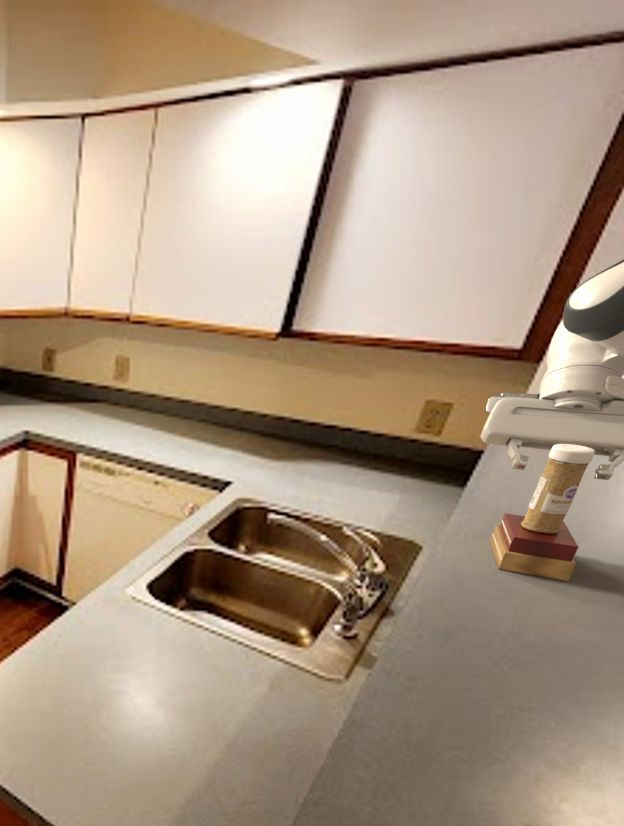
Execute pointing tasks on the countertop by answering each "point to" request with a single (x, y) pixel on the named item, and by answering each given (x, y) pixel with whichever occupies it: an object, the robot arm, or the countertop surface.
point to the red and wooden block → (533, 549)
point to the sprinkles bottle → (557, 487)
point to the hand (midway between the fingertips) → (559, 472)
